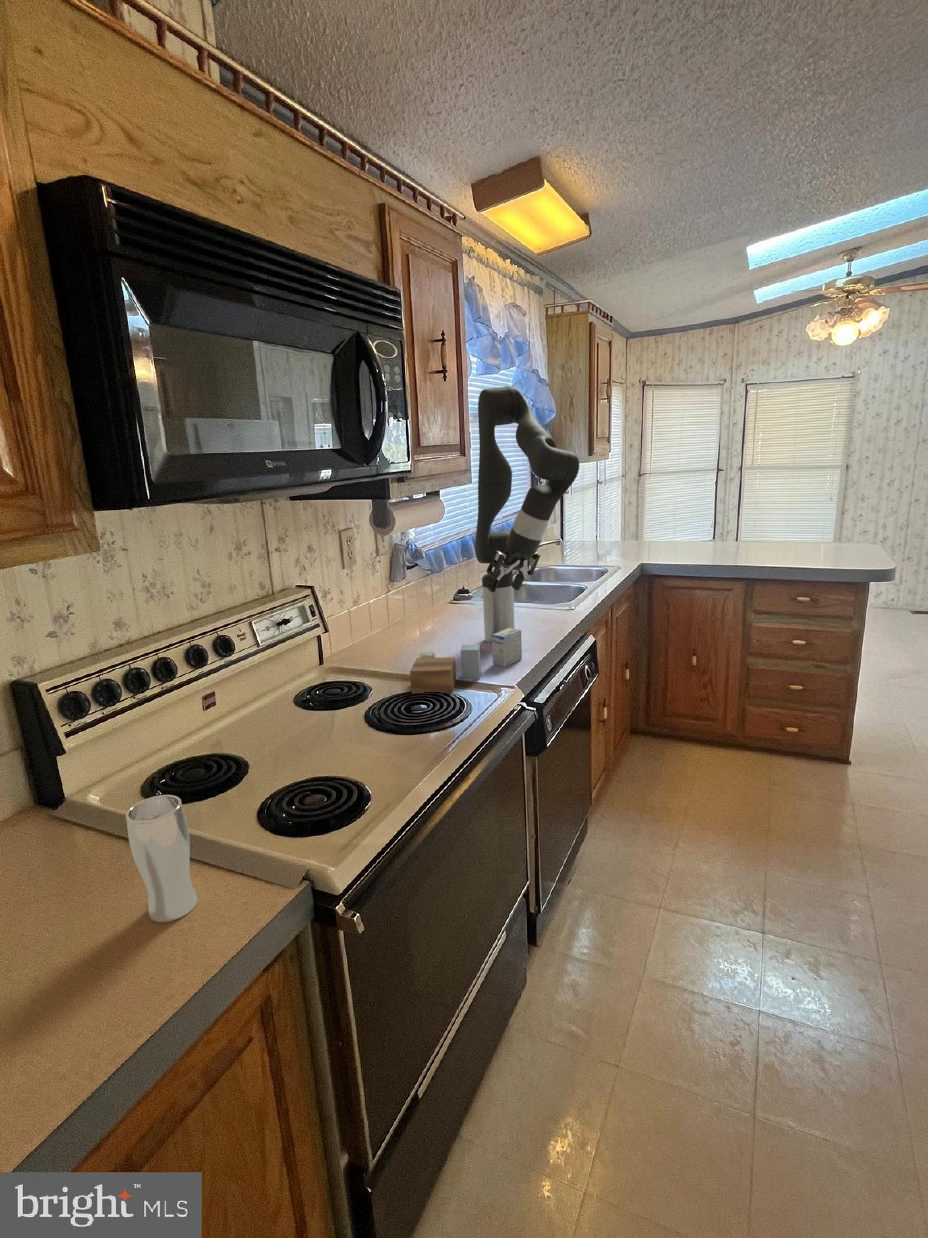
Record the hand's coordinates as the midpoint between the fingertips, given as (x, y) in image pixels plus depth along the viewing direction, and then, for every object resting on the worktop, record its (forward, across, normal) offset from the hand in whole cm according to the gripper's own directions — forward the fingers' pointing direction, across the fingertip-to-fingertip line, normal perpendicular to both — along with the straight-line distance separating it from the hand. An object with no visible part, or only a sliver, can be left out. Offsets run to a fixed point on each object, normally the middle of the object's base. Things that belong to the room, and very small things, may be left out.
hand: (503, 589), depth 158 cm
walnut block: (+28, +11, +1) cm, 30 cm away
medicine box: (+24, -13, +1) cm, 28 cm away
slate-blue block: (+25, +1, +2) cm, 25 cm away
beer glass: (+21, +88, +38) cm, 98 cm away
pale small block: (+31, +5, -8) cm, 33 cm away
